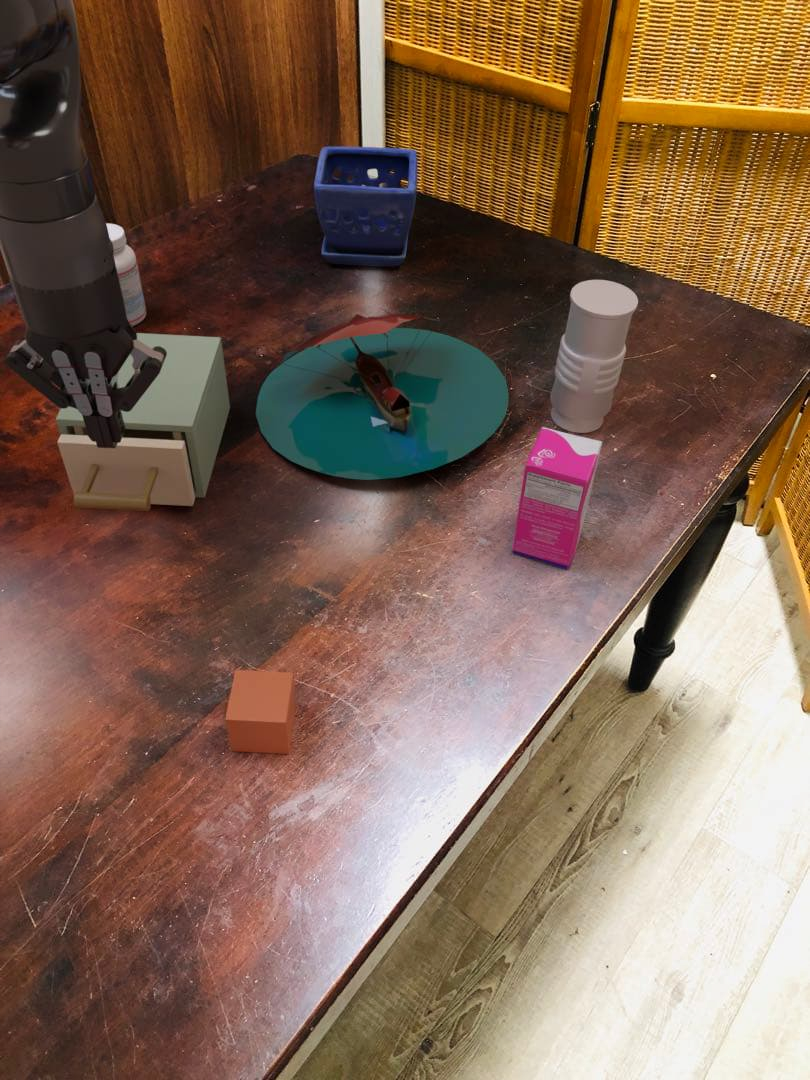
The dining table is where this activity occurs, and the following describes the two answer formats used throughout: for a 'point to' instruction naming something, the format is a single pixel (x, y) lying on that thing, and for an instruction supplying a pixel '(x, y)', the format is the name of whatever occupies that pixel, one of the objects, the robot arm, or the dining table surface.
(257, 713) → the block
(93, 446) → the drawer
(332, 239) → the flower pot
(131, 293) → the pill bottle
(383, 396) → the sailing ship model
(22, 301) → the robot arm
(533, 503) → the supplement box
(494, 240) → the dining table surface
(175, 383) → the cabinet
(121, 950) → the dining table surface
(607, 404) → the grey ribbed bottle
